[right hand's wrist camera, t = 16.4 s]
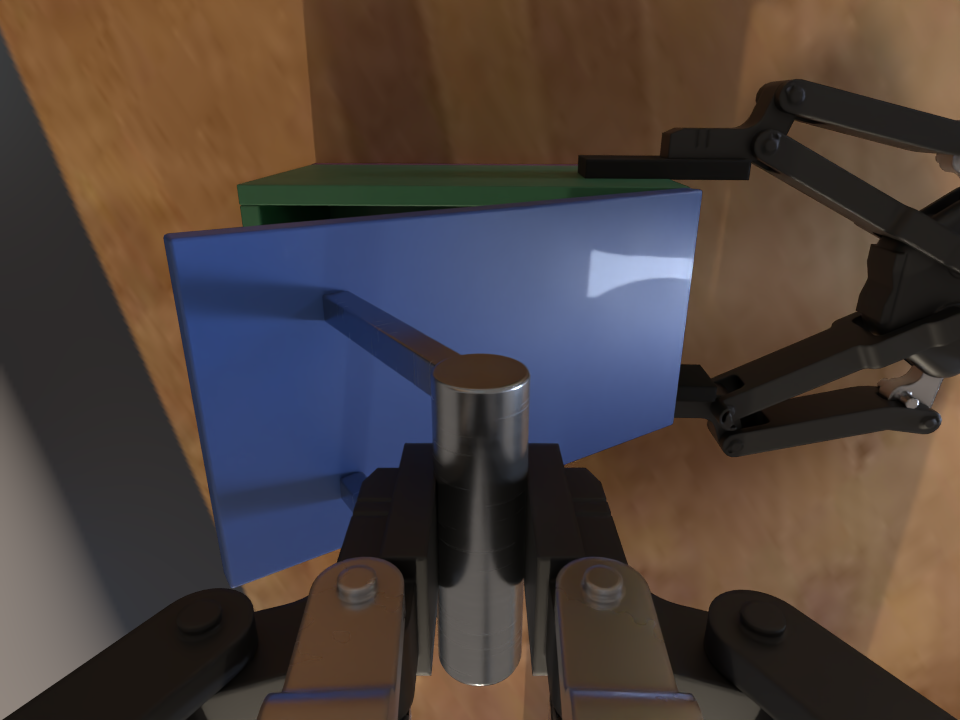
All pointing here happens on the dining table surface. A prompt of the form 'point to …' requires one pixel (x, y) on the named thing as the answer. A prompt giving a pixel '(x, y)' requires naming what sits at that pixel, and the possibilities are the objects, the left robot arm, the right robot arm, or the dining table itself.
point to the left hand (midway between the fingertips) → (575, 280)
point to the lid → (428, 375)
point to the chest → (416, 189)
